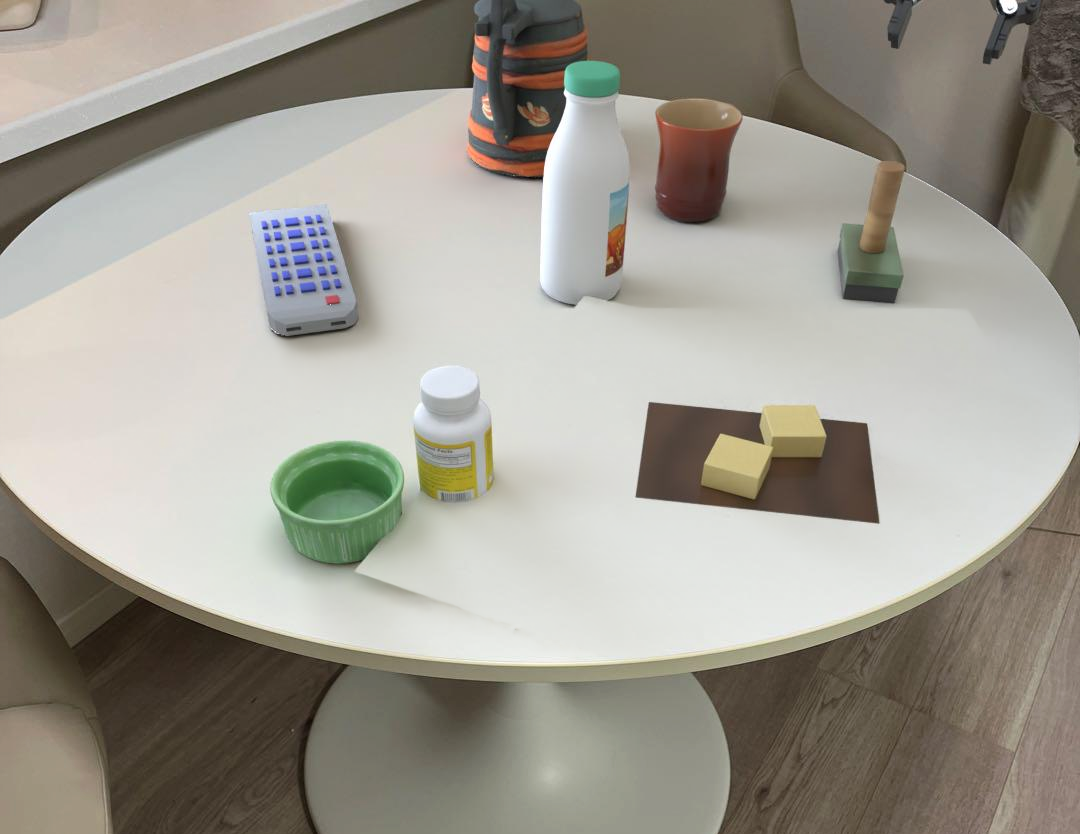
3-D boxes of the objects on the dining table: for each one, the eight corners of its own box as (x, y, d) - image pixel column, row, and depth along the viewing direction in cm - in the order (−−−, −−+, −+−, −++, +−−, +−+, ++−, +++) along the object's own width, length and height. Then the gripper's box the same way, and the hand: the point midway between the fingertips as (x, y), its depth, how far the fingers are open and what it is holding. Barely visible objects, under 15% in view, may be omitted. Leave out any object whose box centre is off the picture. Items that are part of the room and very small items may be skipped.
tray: (863, 438, 83) (867, 422, 82) (875, 539, 74) (879, 523, 73) (647, 417, 85) (648, 401, 84) (633, 513, 76) (635, 496, 75)
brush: (886, 254, 106) (914, 146, 98) (896, 304, 98) (926, 190, 91) (836, 250, 106) (859, 142, 99) (841, 299, 99) (867, 186, 92)
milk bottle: (582, 316, 96) (595, 91, 83) (522, 286, 100) (526, 66, 87) (637, 288, 100) (658, 69, 87) (578, 260, 104) (590, 46, 91)
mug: (704, 236, 108) (716, 137, 101) (631, 214, 112) (638, 116, 105) (757, 197, 116) (772, 101, 109) (688, 177, 119) (698, 83, 112)
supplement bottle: (460, 461, 80) (454, 350, 74) (509, 494, 77) (507, 381, 71) (404, 492, 77) (393, 380, 71) (453, 528, 74) (446, 414, 68)
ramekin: (254, 548, 73) (242, 500, 70) (324, 474, 79) (317, 426, 76) (367, 586, 70) (360, 537, 67) (431, 506, 76) (427, 458, 73)
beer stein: (570, 204, 114) (576, 3, 100) (440, 189, 116) (429, -9, 103) (603, 137, 127) (612, -47, 114) (486, 126, 130) (481, -56, 116)
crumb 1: (769, 468, 77) (773, 446, 76) (754, 500, 75) (759, 478, 73) (717, 454, 79) (720, 432, 77) (700, 485, 76) (703, 463, 75)
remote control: (329, 221, 110) (327, 201, 109) (361, 329, 94) (359, 307, 93) (252, 230, 109) (248, 209, 107) (271, 340, 93) (267, 318, 91)
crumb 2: (810, 426, 81) (815, 404, 80) (821, 457, 78) (827, 436, 77) (759, 426, 81) (763, 404, 80) (768, 457, 78) (772, 436, 77)
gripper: (924, -150, 97) (862, 17, 97) (1088, -134, 92) (1023, 42, 92) (924, -95, 104) (866, 60, 104) (1076, -77, 99) (1015, 86, 99)
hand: (940, 51), depth 98 cm, fingers open, 8 cm apart
